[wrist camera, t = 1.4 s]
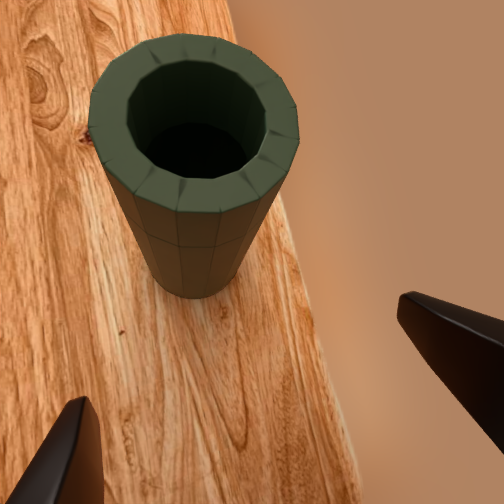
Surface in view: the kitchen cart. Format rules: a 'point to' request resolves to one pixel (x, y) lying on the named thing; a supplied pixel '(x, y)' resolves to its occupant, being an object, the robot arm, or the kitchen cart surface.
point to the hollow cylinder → (193, 153)
